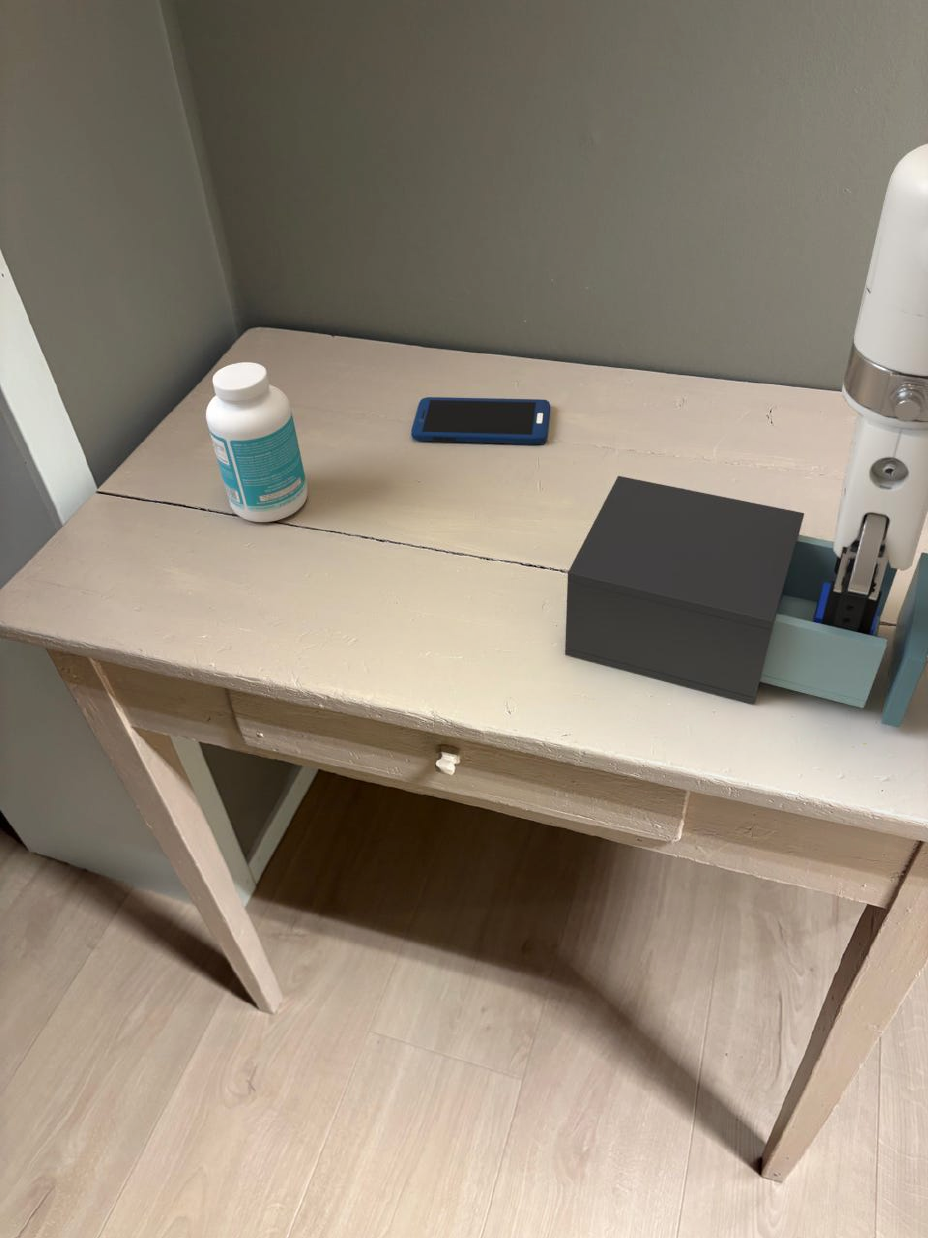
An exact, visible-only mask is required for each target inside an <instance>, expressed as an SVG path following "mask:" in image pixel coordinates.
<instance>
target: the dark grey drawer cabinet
mask: <svg viewBox="0 0 928 1238" xmlns="http://www.w3.org/2000/svg"><path fill="white" fill-rule="evenodd" d="M804 517H805V513H804V512H801V511H795V510H791V509H786V508H781V507H776V506H770V505H766V504H761V503H755V502H750V501H746V500H742V499H736V498H732V497H731V498H730V497H726V496H721V495H718V494H717V495H716V494H712V493H706V492H701V491H698V490H697V491H696V490H691V489H687V488H681V487H677V486H670V485H666V484H663V483H662V484H661V483H656V482H651V481H647V480H642V479H636V478H631V477H627V476H626V477H625V476H621V475H617V476H616V479H615V481H614V483H613V485H612V486H611V488H610V490H609V492H608V495H607V496H606V498H605V500H604V502H603V504H602V506H601V508H600V510H599V512H598V513H597V515H596V517H595V519H594V521H593V523H592V526H591V527H590V529H589V531H588V533H587V535H586V537H585V539H584V540H583V543H582V544H581V546H580V548H579V550H578V552H577V554H576V556H575V558H574V560H573V562H572V564H571V566H570V567H569V569H568V571H567V583H566V584H567V585H566V590H567V591H566V611H565V613H566V614H565V619H566V620H565V641H564V655H565V656H569V657H573V658H576V659H580V660H583V661H587V662H591V663H595V664H598V665H602V666H606V667H610V668H614V669H618V670H621V671H624V672H629V673H632V674H637V675H640V676H644V677H647V678H650V679H655V680H657V681H658V680H659V681H663V682H667V683H670V684H674V685H677V686H680V687H681V686H682V687H685V688H689V689H693V690H697V691H700V692H704V693H709V694H711V695H715V696H719V697H723V698H727V699H730V700H734V701H737V702H742V703H744V704H745V703H746V704H748V705H754V704H755V701H756V698H757V694H758V690H759V687H760V683H761V682H760V678H761V674H762V669H763V665H764V661H765V657H766V653H767V649H768V645H769V641H770V637H771V633H772V629H773V625H774V621H775V617H776V614H777V610H778V607H779V603H780V600H781V596H782V592H783V589H784V585H785V582H786V578H787V575H788V571H789V567H790V564H791V560H792V557H793V553H794V550H795V546H796V542H797V539H798V535H800V533H801V529H802V524H803V521H804Z"/></svg>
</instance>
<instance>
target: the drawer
mask: <svg viewBox="0 0 928 1238" xmlns="http://www.w3.org/2000/svg"><path fill="white" fill-rule="evenodd" d="M833 548H834V541H832V540H827V539H823V538H817V537H812V536H808V535H804V534H799V535H798V539H797V542H796V546H795V550H794V553H793V557H792V560H791V564H790V567H789V571H788V575H787V578H786V582H785V585H784V589H783V592H782V596H781V600H780V603H779V607H778V610H777V614H776V617H775V621H774V625H773V629H772V633H771V637H770V641H769V645H768V649H767V653H766V657H765V661H764V665H763V669H762V674H761V678H760V683H763V684H768V685H771V686H775V687H778V688H782V689H787V690H791V691H795V692H798V693H802V694H807V695H809V696H814V697H818V698H822V699H826V700H829V701H834V702H836V703H837V702H838V703H842V704H845V705H849V706H852V707H857V708H861V709H864V708H865V706H866V703H867V701H868V698H869V695H870V693H871V690H872V687H873V685H874V682H875V679H876V677H877V674H878V672H879V668H880V667H881V666H880V665H881V663H882V661H883V658H884V655H885V652H886V649H887V647H888V639H887V638H884V637H880V636H878V635H879V630H880V622H881V618H882V615H883V612H884V609H885V606H886V604H887V602H888V601H887V600H888V597H889V594H890V592H891V589H892V586H893V584H894V580H895V578H896V575H897V572H898V569H896V568H891V566H890V563H889V561H888V563H887V565H886V569H885V572H884V576H883V580H882V583H881V587H880V590H879V591H882V594H881V598H880V602H879V606H878V612H877V618H876V623H875V629H874V633H873V636H871V635H866V634H862V633H858V632H854V631H849V630H845V629H841V628H837V627H832V626H828V625H824V624H820V623H815V622H812V621H813V618H814V614H815V611H816V607H817V603H818V600H819V596H820V593H821V589H822V586H823V583H824V582H825V583H829V584H831V582H832V581H836V579H837V574H836V573H835V572H834V569H835V565H836V561H837V557H838V556H837V555H836V554H835V552H834V550H833ZM895 623H896V624H895V631H894V636H893V642H892V649H891V657H890V661H889V662H890V663H889V667H888V668H889V669H888V670H889V671H888V675H887V682H886V689H885V695H884V702H883V708H882V715H881V721H880V723H881V724H882V725H885V726H889V727H894V728H898V729H899V728H900V726H901V724H902V721H903V720H904V717H905V714H906V712H907V710H908V707H909V704H910V702H911V699H912V698H913V696H914V693H915V691H916V688H917V685H918V683H919V680H920V678H921V676H922V673H923V672H924V669H925V666H926V664H927V660H928V552H923V551H922V552H921V553H920V555H919V559H918V561H917V563H916V566H915V568H914V572H913V574H912V576H911V580H910V582H909V585H908V587H907V591H906V593H905V596H904V599H903V601H902V604H901V607H900V610H899V612H898V615H897V618H896V622H895Z"/></svg>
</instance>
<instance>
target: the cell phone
mask: <svg viewBox="0 0 928 1238" xmlns="http://www.w3.org/2000/svg"><path fill="white" fill-rule="evenodd" d="M551 407H552V406H551V403H550V401H549V400H547V399H542V398H541V399H540V398H539V399H538V398H535V399H534V398H494V397H493V398H492V397H491V398H487V397H447V396H446V397H445V396H444V397H443V396H442V397H441V396H439V397H438V396H426V397H423V398H421V399H420V400H419V403H418V405H417V409H416V413H415V416H414V419H413V422H412V425H411V429H410V437H411V438H412V439H413V440H415V441H418V442H443V443H444V442H445V443H447V442H448V443H479V444H482V443H483V444H515V445H516V444H518V445H519V444H520V445H521V444H522V445H523V444H524V445H542V444H545V443H546V442H547V439H548V437H549V428H550V427H549V426H550V416H551Z"/></svg>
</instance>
